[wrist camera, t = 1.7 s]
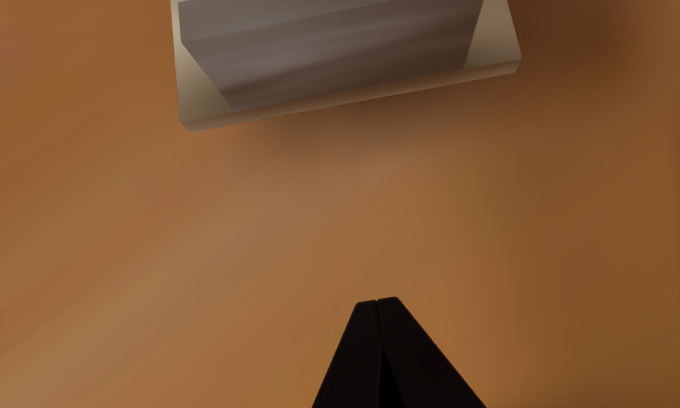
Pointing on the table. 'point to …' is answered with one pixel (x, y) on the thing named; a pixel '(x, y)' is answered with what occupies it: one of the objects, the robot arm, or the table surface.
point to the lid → (328, 53)
